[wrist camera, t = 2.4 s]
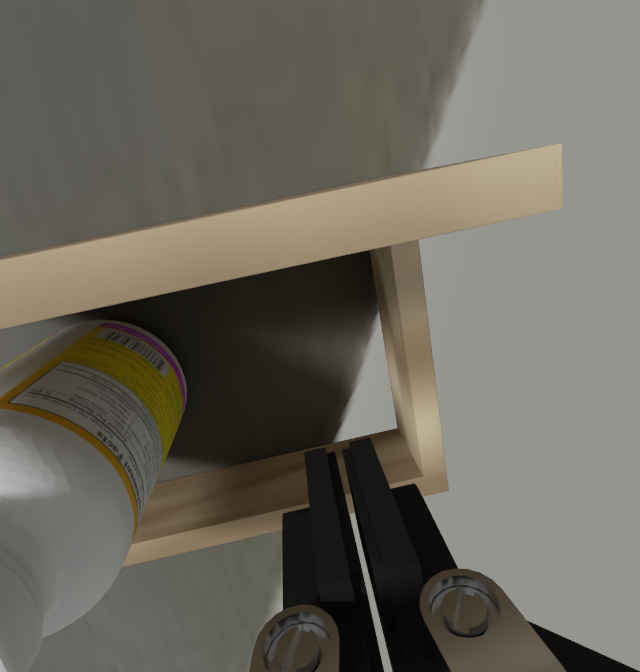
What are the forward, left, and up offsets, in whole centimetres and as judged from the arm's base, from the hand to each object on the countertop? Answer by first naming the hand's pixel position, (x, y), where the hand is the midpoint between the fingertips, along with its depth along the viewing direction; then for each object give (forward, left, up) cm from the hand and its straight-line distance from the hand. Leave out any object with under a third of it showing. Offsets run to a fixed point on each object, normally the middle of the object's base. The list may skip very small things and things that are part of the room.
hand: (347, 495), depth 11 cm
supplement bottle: (-1, -9, -10) cm, 14 cm away
